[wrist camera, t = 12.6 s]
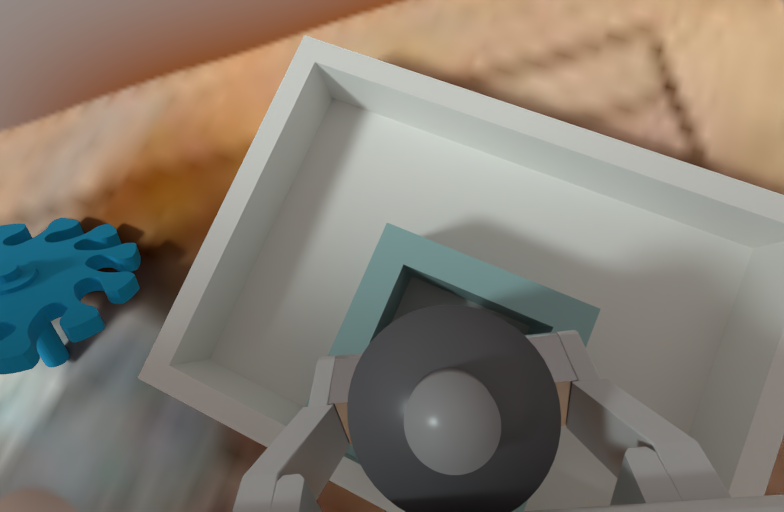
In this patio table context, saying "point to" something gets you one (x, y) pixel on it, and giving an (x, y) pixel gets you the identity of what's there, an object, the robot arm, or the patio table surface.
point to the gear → (57, 288)
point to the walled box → (480, 264)
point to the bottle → (454, 412)
